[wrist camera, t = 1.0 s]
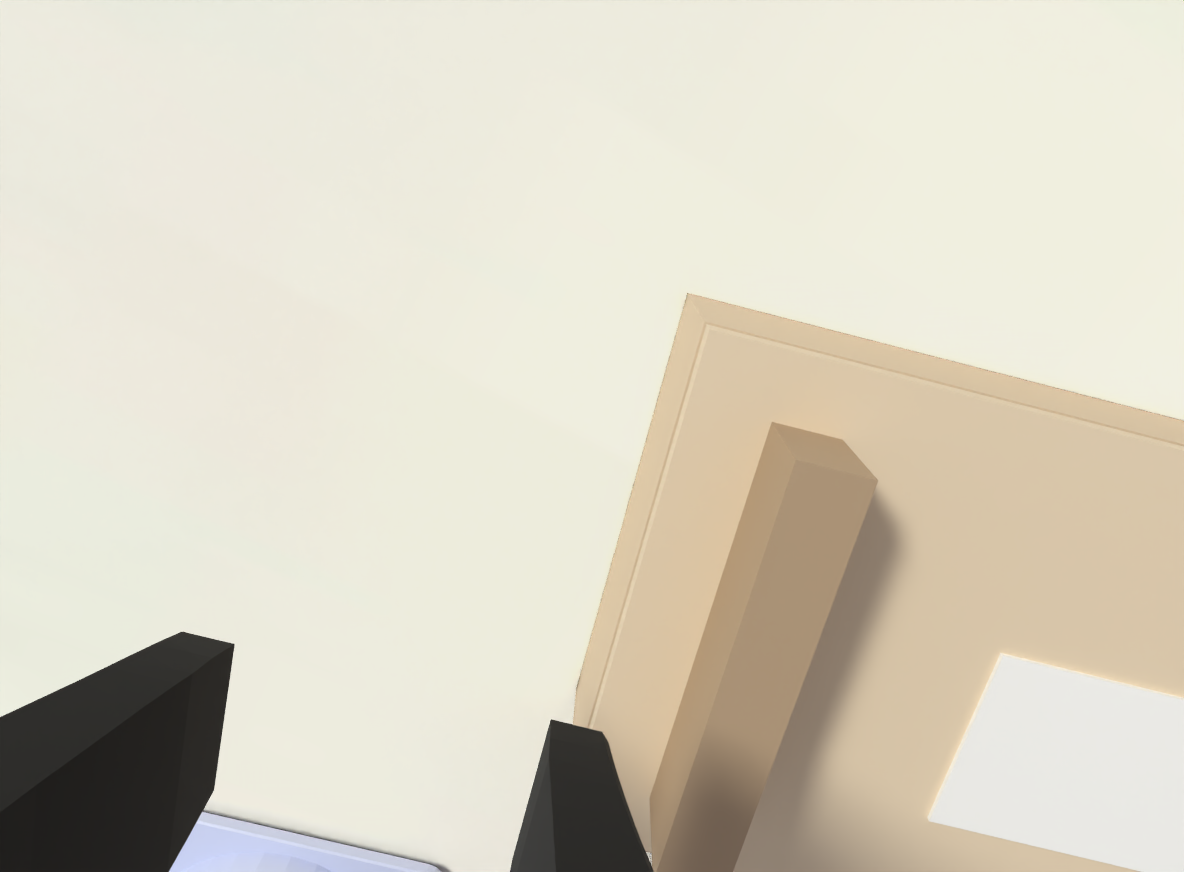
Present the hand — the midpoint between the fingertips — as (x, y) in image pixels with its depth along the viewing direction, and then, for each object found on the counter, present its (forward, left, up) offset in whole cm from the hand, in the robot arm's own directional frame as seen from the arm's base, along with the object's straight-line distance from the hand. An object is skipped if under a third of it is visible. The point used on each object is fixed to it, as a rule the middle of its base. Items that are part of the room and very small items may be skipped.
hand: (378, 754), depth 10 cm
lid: (0, -10, -6) cm, 11 cm away
